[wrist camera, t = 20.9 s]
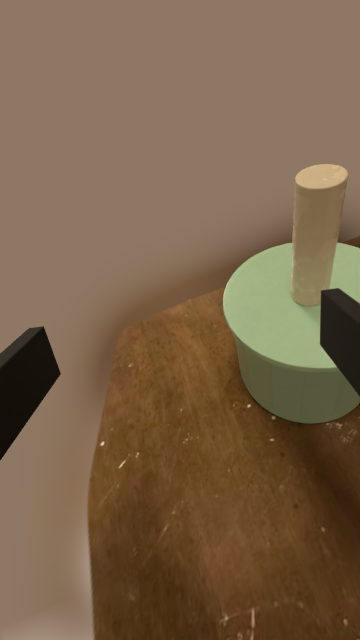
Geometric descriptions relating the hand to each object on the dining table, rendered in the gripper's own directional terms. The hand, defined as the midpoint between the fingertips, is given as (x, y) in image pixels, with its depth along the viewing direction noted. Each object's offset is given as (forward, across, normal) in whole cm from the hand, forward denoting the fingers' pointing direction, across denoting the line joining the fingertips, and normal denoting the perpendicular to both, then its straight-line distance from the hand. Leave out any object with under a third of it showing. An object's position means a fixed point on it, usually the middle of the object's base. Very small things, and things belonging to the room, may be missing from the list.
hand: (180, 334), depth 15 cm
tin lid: (+9, +9, -3) cm, 13 cm away
